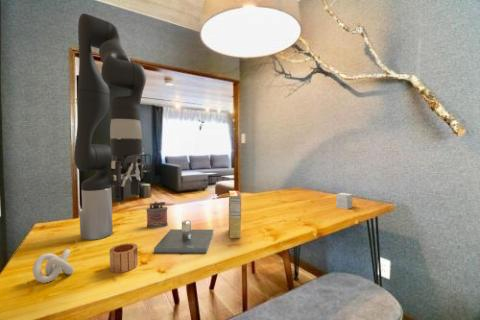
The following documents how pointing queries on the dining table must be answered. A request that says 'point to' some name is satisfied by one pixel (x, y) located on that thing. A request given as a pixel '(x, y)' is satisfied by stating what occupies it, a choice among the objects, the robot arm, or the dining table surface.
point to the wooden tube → (123, 257)
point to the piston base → (185, 240)
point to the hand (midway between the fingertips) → (128, 197)
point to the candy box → (234, 214)
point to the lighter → (156, 215)
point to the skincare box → (344, 200)
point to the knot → (49, 268)
